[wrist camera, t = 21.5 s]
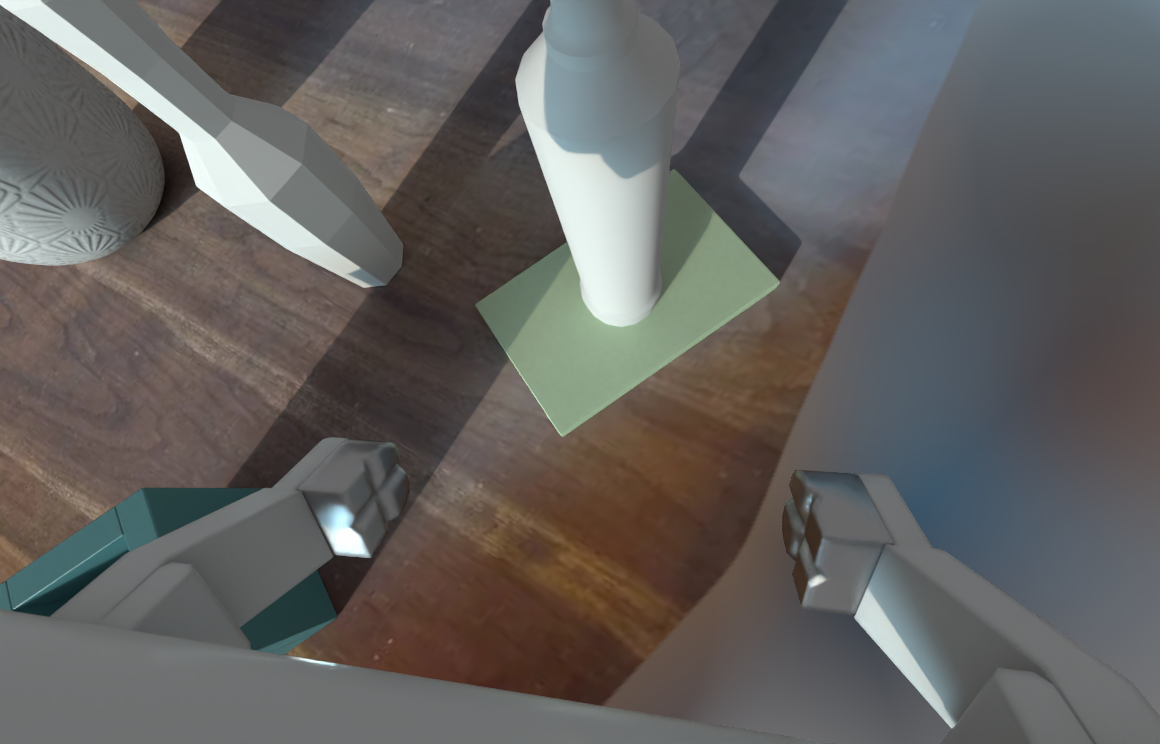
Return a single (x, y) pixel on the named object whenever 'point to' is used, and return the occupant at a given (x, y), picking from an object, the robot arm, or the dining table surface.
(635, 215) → the bottle
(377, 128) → the dining table surface
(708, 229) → the mat
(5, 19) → the planter
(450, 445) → the dining table surface
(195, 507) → the holster
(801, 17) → the dining table surface
